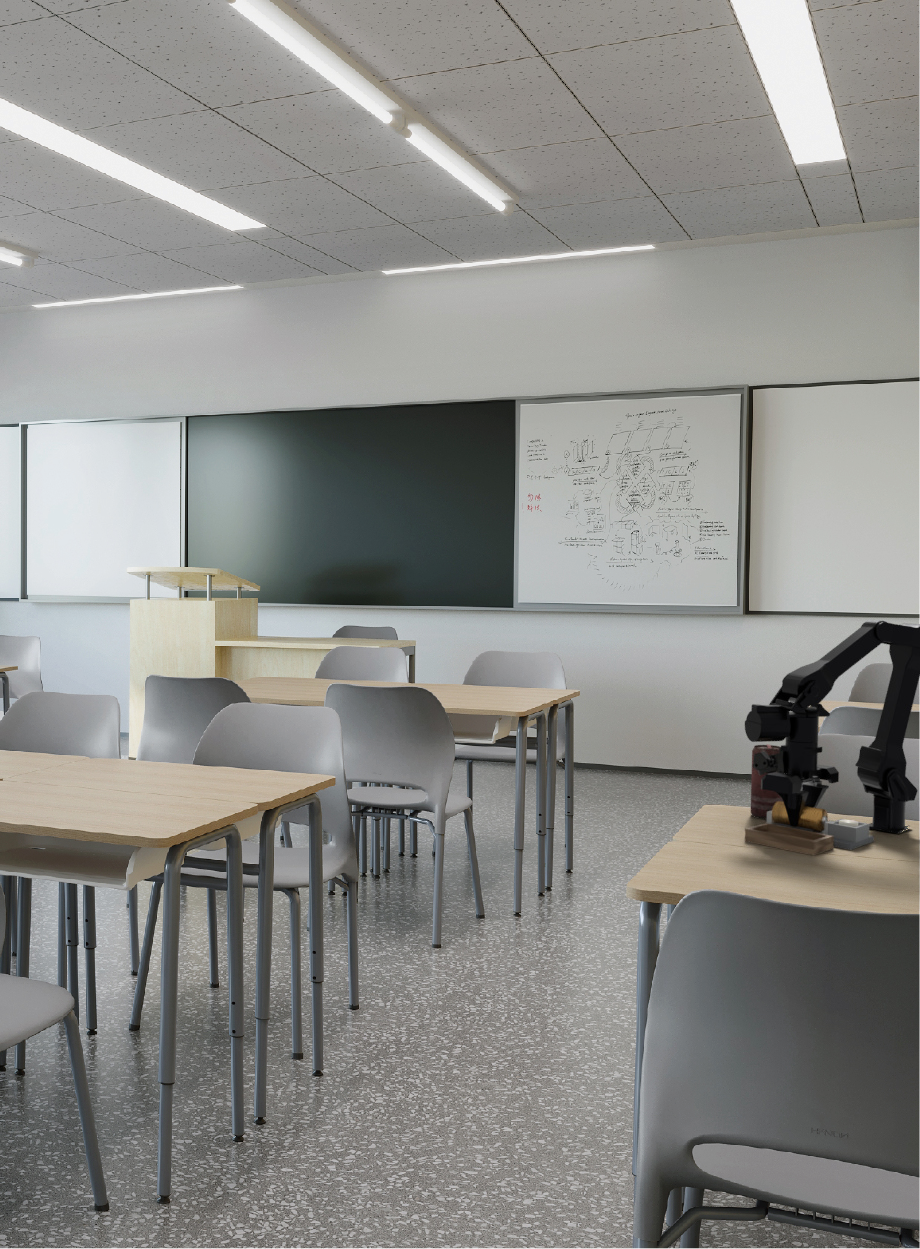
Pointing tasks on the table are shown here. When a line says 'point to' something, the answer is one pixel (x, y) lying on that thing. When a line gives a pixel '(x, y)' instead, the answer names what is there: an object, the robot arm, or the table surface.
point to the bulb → (848, 823)
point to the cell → (808, 817)
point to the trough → (789, 838)
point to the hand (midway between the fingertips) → (799, 824)
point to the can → (759, 797)
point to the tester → (838, 832)
